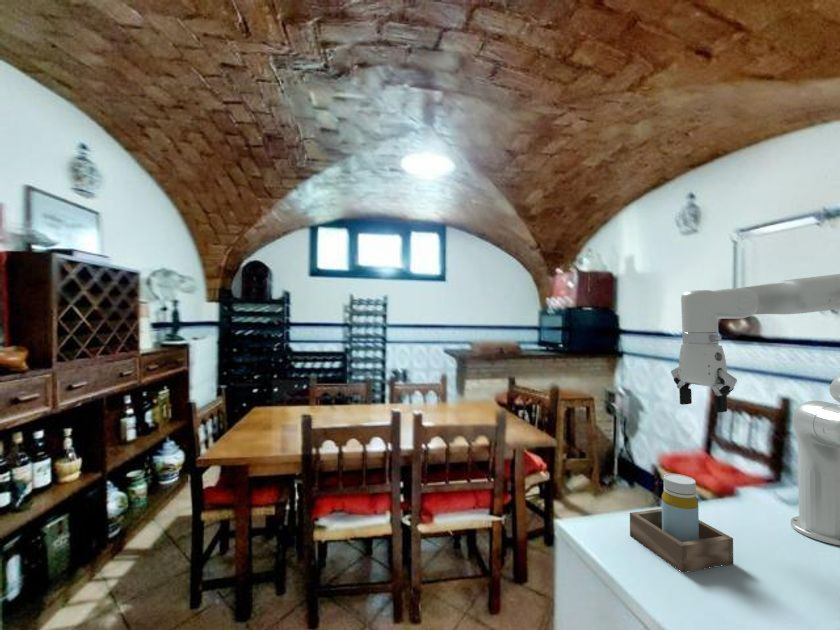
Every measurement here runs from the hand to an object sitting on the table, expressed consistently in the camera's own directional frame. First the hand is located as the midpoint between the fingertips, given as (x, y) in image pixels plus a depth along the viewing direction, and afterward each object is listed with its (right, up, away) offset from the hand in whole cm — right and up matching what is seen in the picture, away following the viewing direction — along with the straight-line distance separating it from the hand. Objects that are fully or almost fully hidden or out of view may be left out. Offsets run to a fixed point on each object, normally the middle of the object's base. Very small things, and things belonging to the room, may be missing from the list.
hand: (702, 407), depth 104 cm
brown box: (-12, -30, -10) cm, 34 cm away
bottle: (-12, -29, -11) cm, 33 cm away
